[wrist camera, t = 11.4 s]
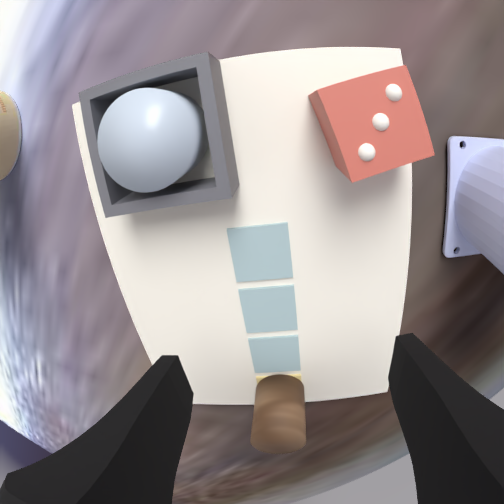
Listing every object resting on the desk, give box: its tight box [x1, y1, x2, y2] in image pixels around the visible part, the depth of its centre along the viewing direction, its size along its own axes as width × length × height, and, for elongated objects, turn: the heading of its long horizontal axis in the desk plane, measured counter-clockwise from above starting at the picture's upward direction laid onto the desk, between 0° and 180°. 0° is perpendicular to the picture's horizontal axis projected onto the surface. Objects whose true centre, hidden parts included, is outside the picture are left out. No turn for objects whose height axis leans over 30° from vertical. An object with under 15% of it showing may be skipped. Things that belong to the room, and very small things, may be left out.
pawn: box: [250, 374, 306, 454], centre depth 21 cm, size 4×4×5 cm
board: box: [72, 47, 412, 405], centre depth 18 cm, size 19×25×4 cm
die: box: [308, 65, 435, 183], centre depth 12 cm, size 4×4×4 cm
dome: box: [97, 88, 209, 193], centre depth 14 cm, size 5×5×3 cm
